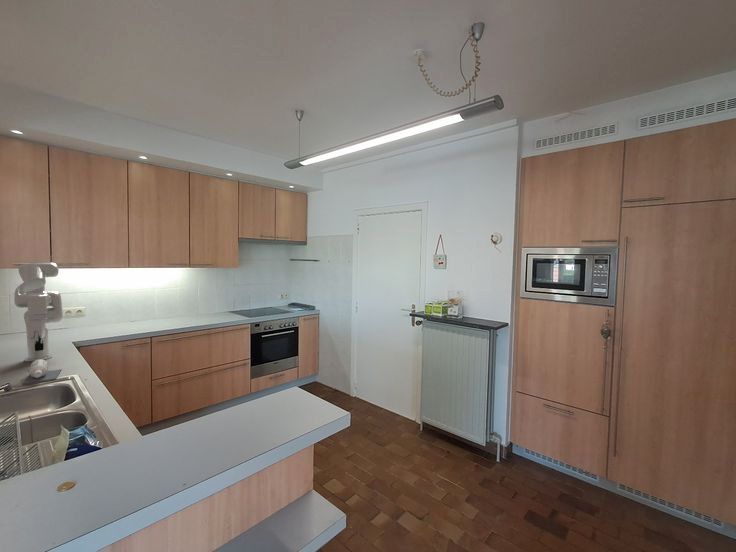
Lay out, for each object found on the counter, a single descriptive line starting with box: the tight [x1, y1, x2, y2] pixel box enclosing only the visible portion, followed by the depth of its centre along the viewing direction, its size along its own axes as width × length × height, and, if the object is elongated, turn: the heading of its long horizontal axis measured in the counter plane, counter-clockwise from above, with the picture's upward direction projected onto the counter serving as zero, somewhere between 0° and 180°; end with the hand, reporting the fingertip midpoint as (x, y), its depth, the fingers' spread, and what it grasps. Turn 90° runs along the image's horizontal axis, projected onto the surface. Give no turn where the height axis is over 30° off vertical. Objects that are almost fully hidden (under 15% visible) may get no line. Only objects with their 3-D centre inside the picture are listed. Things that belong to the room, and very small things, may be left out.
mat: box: [21, 368, 62, 386], centre depth 179 cm, size 17×13×1 cm
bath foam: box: [28, 359, 49, 378], centre depth 178 cm, size 7×7×20 cm
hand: (39, 350), depth 183 cm, fingers closed
